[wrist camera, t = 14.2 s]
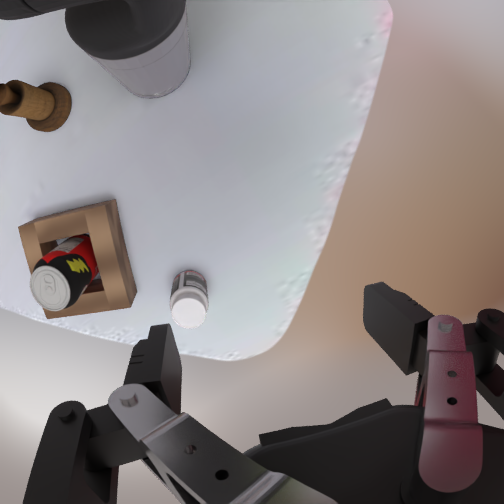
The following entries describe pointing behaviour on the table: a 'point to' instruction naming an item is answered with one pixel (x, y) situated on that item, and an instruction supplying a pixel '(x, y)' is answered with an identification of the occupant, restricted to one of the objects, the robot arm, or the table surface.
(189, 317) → the pill bottle
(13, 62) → the table surface
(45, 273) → the beverage can
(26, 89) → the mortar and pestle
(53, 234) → the socket block
